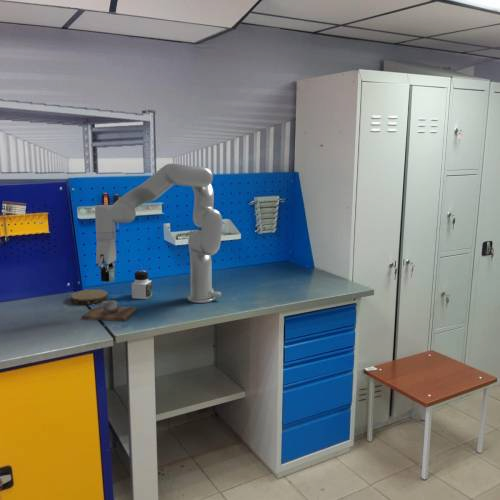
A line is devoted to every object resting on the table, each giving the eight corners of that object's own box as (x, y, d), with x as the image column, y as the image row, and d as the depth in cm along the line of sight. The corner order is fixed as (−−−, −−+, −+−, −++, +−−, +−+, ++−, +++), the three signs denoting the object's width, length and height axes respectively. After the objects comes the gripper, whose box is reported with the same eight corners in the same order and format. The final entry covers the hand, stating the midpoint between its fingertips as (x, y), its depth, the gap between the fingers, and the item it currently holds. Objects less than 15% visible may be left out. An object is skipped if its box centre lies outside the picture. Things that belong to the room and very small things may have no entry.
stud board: (136, 309, 219) (136, 298, 218) (125, 321, 206) (124, 308, 205) (96, 308, 221) (95, 296, 220) (82, 319, 208) (81, 306, 207)
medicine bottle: (146, 299, 234) (145, 274, 232) (131, 298, 236) (130, 273, 233) (152, 295, 241) (151, 270, 239) (138, 294, 242) (137, 269, 240)
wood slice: (70, 297, 238) (70, 291, 237) (106, 294, 243) (105, 288, 243) (71, 307, 223) (71, 300, 223) (109, 303, 229) (109, 297, 228)
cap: (104, 278, 214) (104, 266, 213) (117, 279, 213) (116, 267, 212) (99, 282, 208) (98, 270, 207) (112, 282, 208) (111, 270, 207)
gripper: (105, 232, 216) (107, 273, 219) (88, 239, 199) (90, 284, 203) (122, 232, 215) (124, 274, 218) (106, 239, 198) (108, 285, 202)
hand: (108, 278), depth 210 cm, fingers closed on cap, 5 cm apart
